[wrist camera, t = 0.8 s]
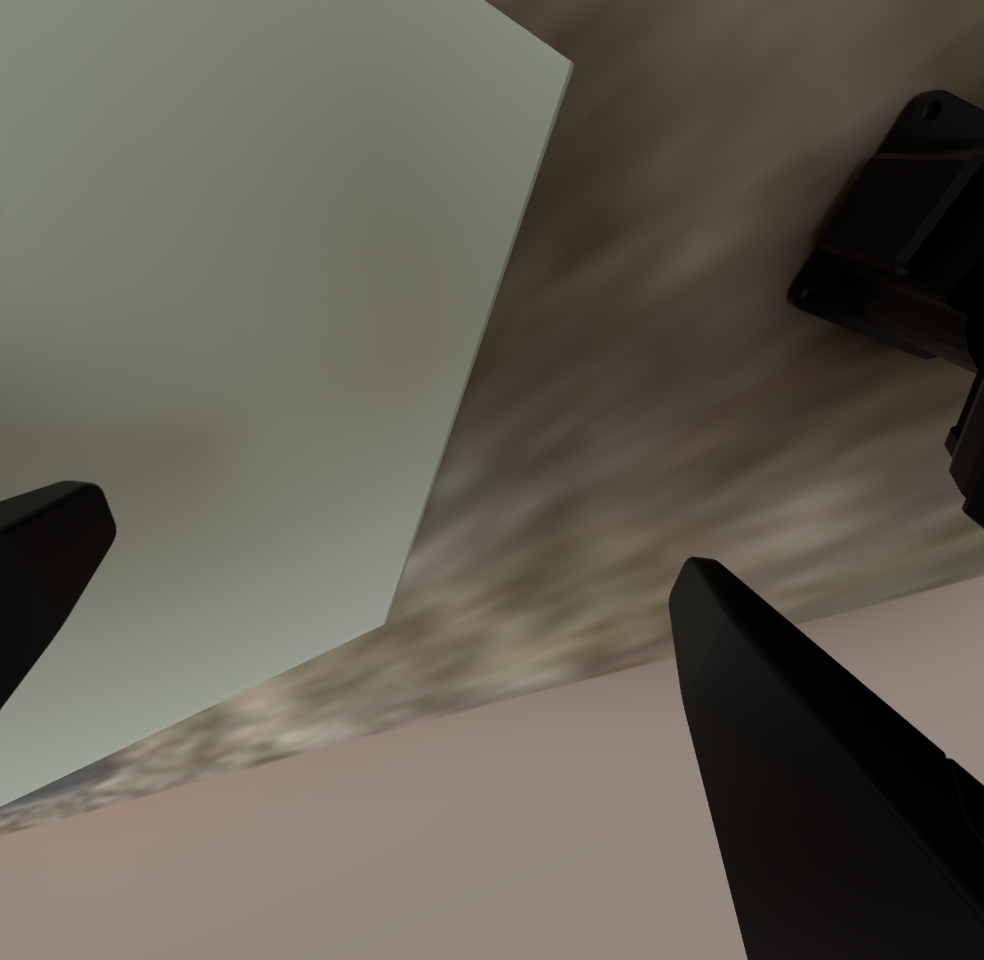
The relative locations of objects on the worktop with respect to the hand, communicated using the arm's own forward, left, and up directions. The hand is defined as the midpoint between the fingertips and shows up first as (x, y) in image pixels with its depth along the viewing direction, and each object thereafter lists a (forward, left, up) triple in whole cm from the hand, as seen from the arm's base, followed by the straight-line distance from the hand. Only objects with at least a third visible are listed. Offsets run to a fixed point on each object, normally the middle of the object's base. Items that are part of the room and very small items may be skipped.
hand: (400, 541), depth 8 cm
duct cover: (+4, +2, -5) cm, 7 cm away
